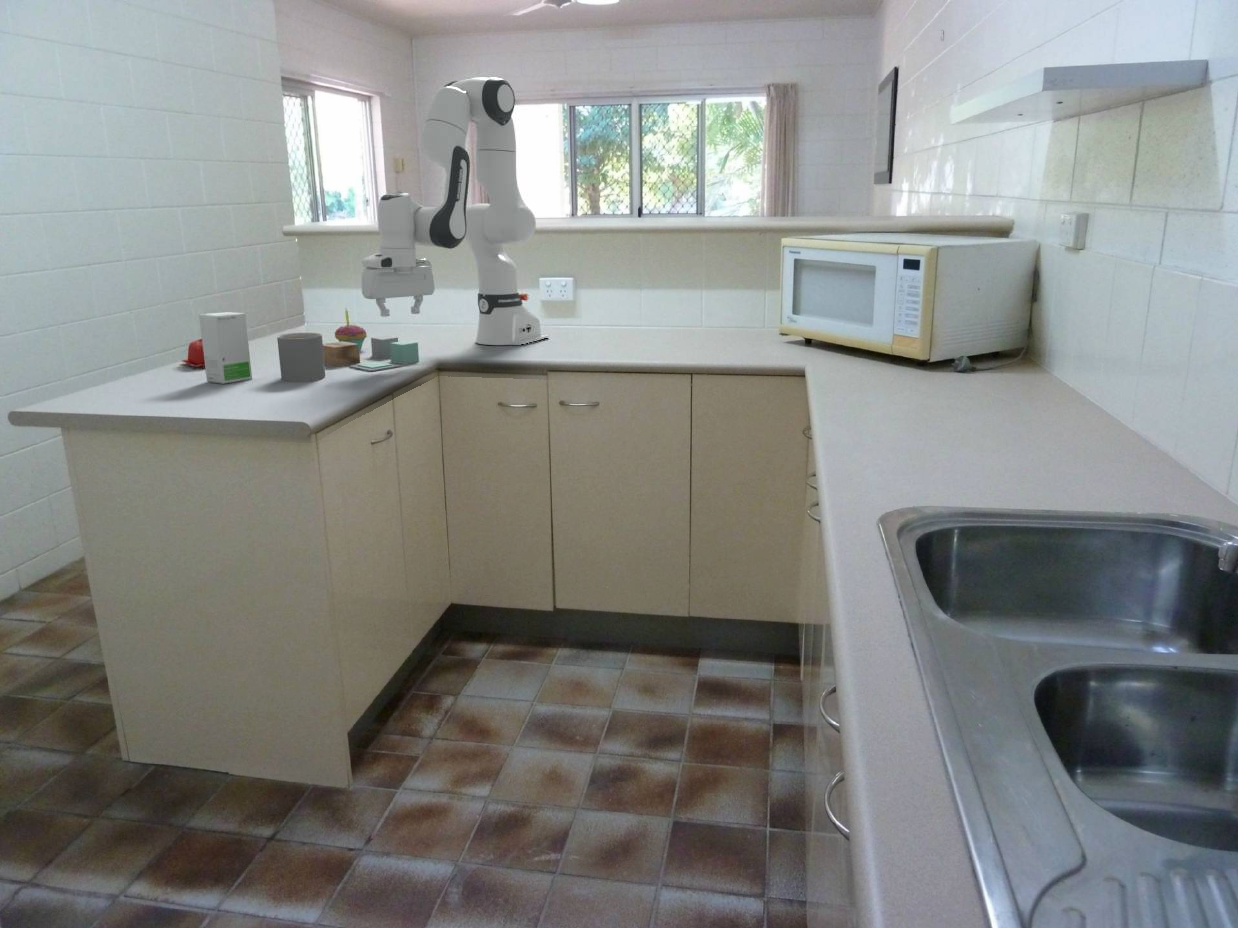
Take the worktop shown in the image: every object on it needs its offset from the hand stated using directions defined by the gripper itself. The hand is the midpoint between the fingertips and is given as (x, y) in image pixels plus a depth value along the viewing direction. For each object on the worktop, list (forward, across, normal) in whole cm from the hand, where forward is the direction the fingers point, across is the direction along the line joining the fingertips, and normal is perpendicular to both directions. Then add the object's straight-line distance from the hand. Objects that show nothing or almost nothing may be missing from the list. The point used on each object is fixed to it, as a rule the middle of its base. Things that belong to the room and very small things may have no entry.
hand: (400, 315), depth 239 cm
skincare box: (+13, +41, -11) cm, 45 cm away
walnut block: (+12, +11, -11) cm, 20 cm away
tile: (+12, +9, +1) cm, 15 cm away
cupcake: (+12, -2, -25) cm, 28 cm away
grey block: (+12, -3, -11) cm, 17 cm away
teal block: (+12, -1, 0) cm, 12 cm away
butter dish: (+13, +34, -35) cm, 50 cm away
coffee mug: (+13, +27, -2) cm, 30 cm away
